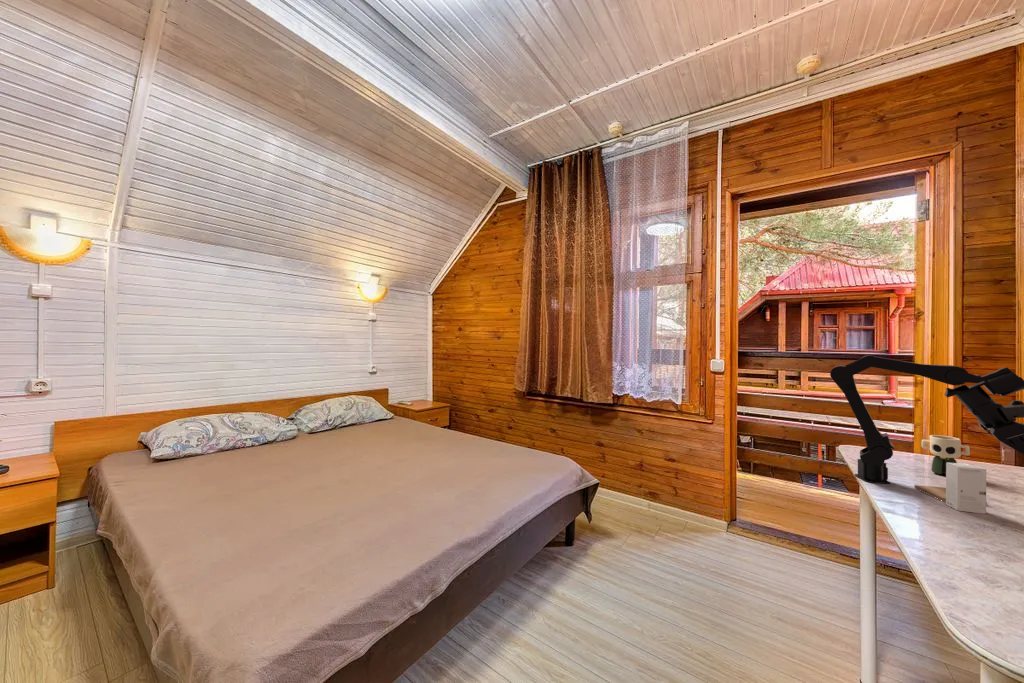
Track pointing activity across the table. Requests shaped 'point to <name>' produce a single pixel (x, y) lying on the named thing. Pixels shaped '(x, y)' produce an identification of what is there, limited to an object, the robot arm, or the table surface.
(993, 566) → the table surface
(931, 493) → the walnut coaster
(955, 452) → the character mug
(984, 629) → the table surface
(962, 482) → the skincare box
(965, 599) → the table surface
